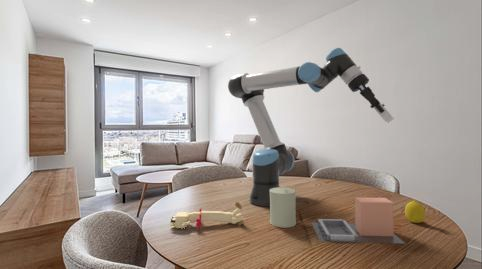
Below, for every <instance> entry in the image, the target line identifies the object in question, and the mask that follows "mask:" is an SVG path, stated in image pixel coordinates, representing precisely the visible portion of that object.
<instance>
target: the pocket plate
mask: <svg viewBox="0 0 482 269" xmlns="http://www.w3.org/2000/svg"><path fill="white" fill-rule="evenodd" d="M311 225H312V227H313V229H314V231H315V234H316V236H317V239H318V240H319V242H331V243H332V242H334V243H335V242H336V243H367V244H368V243H369V244H371V243H373V244H374V243H375V244H401V245H402V244H404V245H405V244H406V242H404V240H402V239H401V238H400V237H398V236H397V235H396V234H395V233H394V236H362V235H361V234H360V233H359V232H358V231H357V230H356V224H355V222H354V223H350V222H347V221H346V220H345V219H339V218H338V219H337V218H335V219H333V218H331V219H329V218H328V219H326V218H323V219H322V218H318V219H317V222H311Z"/></svg>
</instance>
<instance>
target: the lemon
mask: <svg viewBox="0 0 482 269" xmlns="http://www.w3.org/2000/svg"><path fill="white" fill-rule="evenodd" d="M404 214H405V217H406V219H407V220H408V221H409V222H411V223H413V224H420V223H422V222H423V221H424V220H425V217H426V212H425V207H424V206H423V205H422V204H421V203H420V202H418V201H417V200H413V201H410V202H407V204H406V205H405V208H404Z"/></svg>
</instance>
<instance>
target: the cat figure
mask: <svg viewBox="0 0 482 269" xmlns="http://www.w3.org/2000/svg"><path fill="white" fill-rule="evenodd" d="M234 206H235V207H237V208H235V209H234V210H233V211H232V212H231V211H222V210H221V211H220V210H202V208H199V211H192V212H188V211H178V212H177V213H176V215H173V216H172V217H171V219H170V221H169V224H168V225H169V226H170V227H171V226H174V227H173V228H175V229H180V228H181V229H180V230H185V229H186V228H188V226H189V225H190V224H195V227H197V228H198V229H201V228H202V226H201V225H202V224H201V223H204V222H219V223H228V224H234V225H236V224H237V223H239V225H240V224H243V225H244V217H243V216H242V213H240V211H241V210H242V209H243V206H242V204H241V203H240V202H239V201H235V202H234ZM185 227H186V228H185ZM183 228H184V229H183Z"/></svg>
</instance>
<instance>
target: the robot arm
mask: <svg viewBox="0 0 482 269" xmlns="http://www.w3.org/2000/svg"><path fill="white" fill-rule="evenodd" d="M325 60H326V63H325V64H324V65H323V66H321V67H320V66H319V64H316V63H314V62H310V61H309V62H308V61H307V62H304V63H302V64H301V65H299V66H294V67H289V68H287V67H286V68H282V69H276V70H270V71H264V72H259V73H258V72H257V73H252V74H249V73H248V72H246V73H239V74H235V75H233V76H231V78H230V79H229V80H228V83H227V88H228V92H229V93H230V95H231V96H233V98H234V97H235V98H237V99H241V101H242V103H243V106H245V107H246V108H248V110H249V113H250V115H251V118H252V121H253V123H254V125H255V128H256V131H257V132H258V135H259V138H260V139H261V140H260V141H261V142H262V145H263V147H264V149H260V150H256V151H255V152H254V153H253V155H252V172H253V173H252V176H253V183H252V184H253V185H252V188H251V192H250V196H249V202H250V204H252V203H253V204H252V205H254V204H255V205H256V206H258V205H260V206H259V207H270V191H269V190H270V189H272V188H277V187H280V175H283V174H286V173H288V172H290V171H291V170H292V169H293V168H294V165H295V156H294V154H293V153H292V152H291V150H288V148H287V147H286V144H285V143H284V142H281V141H280V137H279V136H278V133H277V131H276V128H275V125H274V124H273V122H272V119H271V117H270V114H269V112H268V109H267V107H266V105H265V102H264V100H265V95H264V94H265V93H264V92H265V90H269V89H277V88H285V87H292V86H293V87H294V86H298V85H308V86H309V88H310V89H311V90H312V92H313V91H314V92H315V93H319V92H321V91H322V90H323V89H325V88H326V87H327V86H328V85H329V84H331V83H332V82H333V81H334V80H335V79H336V78H338V76H339V77H340V79H341V81H343V82H344V84H345V85H347V87H348V89H349V90H350V91H351V92H352V93H356V92H358V91H359V94H360V95H361V96H362V97H363V98H364V99H366V101H368V102H369V103H370V108H371V109H374V110H375V111H376V112H377V114H378V115H379V116H380V117H381V118H382V120H384V122H387V124H388V123H390V122H392V121H393V120H394V119H395V118H394V117H393V116H392V115H391V113H390V111H388V110H387V108H386V107H385V106H386V105H385V104H384V103H383V104H382V103H381V102H380V101H379V100H378V99H377V98H376V95H375V94H374V92H373V91H372V89H371V87H370V86H366V85H367V84H368V83H369V82H370V79H369V77H367V75H366V74H365V73H363V71H362V70H361V66H358V65H357V64H356V63H355V62H354V60H353V59H352V58H351V57H350V56H349V55H348V54H347V52H346V51H344V49H342V48H341V47H335V48H334V49H332V50H331V51H329V53H328V54H327V55H326V57H325Z"/></svg>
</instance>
